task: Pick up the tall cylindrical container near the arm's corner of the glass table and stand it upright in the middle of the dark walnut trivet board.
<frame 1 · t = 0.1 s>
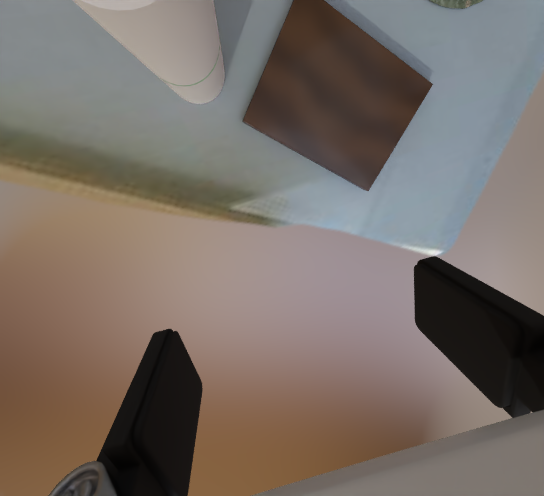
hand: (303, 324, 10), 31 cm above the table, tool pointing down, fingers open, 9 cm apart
cylindrical container: (196, 72, 33), on the table
trivet board: (335, 103, 36), on the table
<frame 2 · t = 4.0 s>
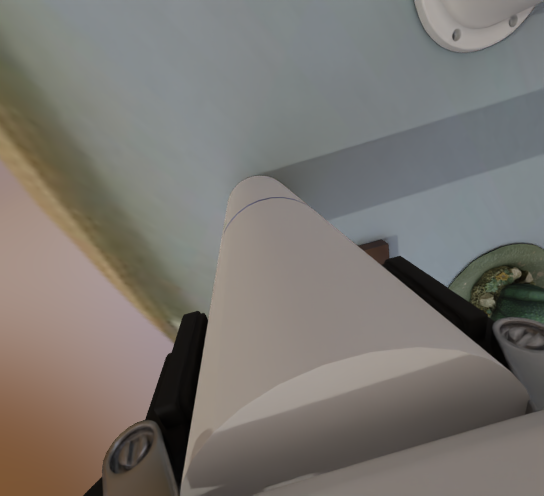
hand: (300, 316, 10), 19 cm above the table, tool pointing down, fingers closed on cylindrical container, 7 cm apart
frog figurine: (494, 299, 38), on the table
cylindrical container: (260, 208, 28), on the table, touching gripper
trivet board: (331, 324, 35), on the table
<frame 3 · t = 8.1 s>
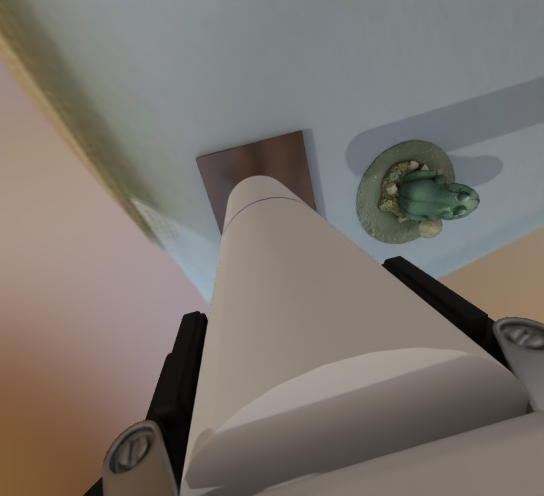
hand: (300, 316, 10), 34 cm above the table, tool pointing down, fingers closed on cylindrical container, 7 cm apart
frog figurine: (404, 195, 45), on the table
cylindrical container: (260, 208, 28), point 14 cm above the table, touching gripper
trivet board: (265, 210, 43), on the table
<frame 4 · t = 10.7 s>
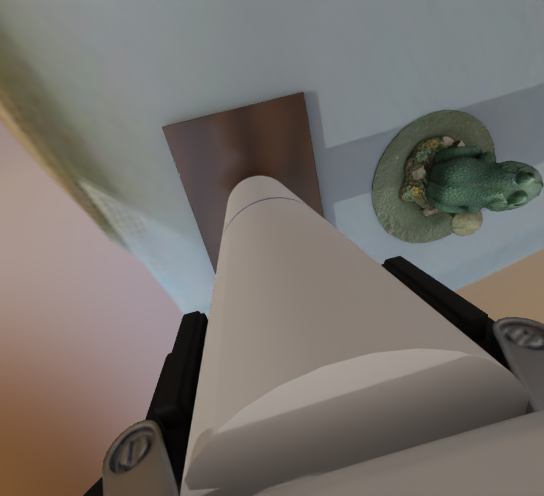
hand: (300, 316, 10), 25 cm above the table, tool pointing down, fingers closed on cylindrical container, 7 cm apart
frog figurine: (432, 182, 36), on the table
cylindrical container: (260, 208, 28), point 6 cm above the table, touching gripper
trivet board: (256, 199, 34), on the table
when the fingers open (21 cm above the table, at t = 12.5 s): cylindrical container stays where it is, resting on trivet board.
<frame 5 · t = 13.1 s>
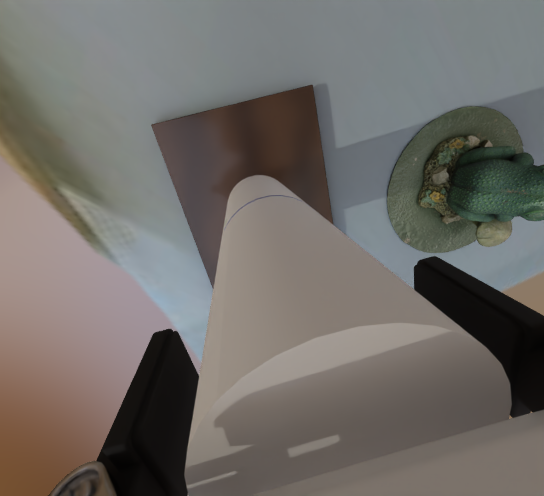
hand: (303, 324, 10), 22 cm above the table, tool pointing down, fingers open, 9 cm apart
frog figurine: (453, 186, 33), on the table
cylindrical container: (259, 207, 29), point 1 cm above the table, touching trivet board
trivet board: (258, 205, 30), on the table
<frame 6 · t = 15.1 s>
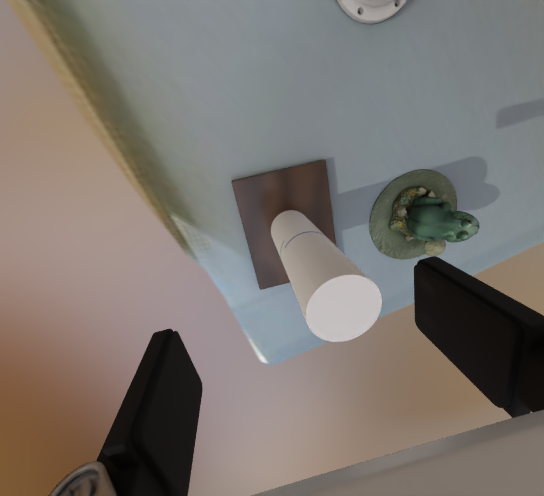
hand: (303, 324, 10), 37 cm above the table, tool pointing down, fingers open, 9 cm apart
frog figurine: (412, 217, 51), on the table
cylindrical container: (290, 229, 47), point 1 cm above the table, touching trivet board
trivet board: (288, 227, 48), on the table
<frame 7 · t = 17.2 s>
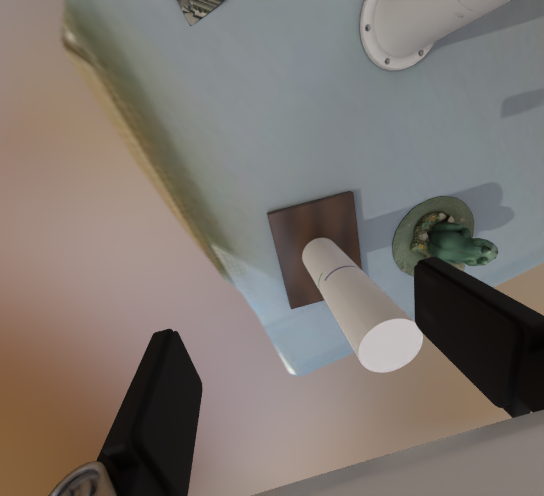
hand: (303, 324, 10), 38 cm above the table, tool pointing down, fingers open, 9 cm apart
frog figurine: (432, 238, 54), on the table
cylindrical container: (319, 254, 50), point 1 cm above the table, touching trivet board
trivet board: (317, 252, 52), on the table
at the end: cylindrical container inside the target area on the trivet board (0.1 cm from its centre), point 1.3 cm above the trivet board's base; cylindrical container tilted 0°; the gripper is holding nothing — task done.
